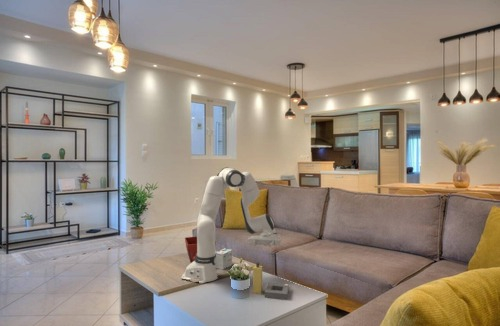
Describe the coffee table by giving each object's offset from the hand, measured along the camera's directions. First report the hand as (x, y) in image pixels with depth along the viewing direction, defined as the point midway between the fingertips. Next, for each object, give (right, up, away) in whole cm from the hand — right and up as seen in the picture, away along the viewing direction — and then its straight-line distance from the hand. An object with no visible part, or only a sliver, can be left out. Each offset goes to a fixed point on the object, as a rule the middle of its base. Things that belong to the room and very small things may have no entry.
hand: (262, 244), depth 189 cm
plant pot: (-42, -22, +32) cm, 57 cm away
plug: (-3, -23, -12) cm, 26 cm away
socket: (+8, -23, -14) cm, 28 cm away
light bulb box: (-25, -22, +26) cm, 42 cm away
